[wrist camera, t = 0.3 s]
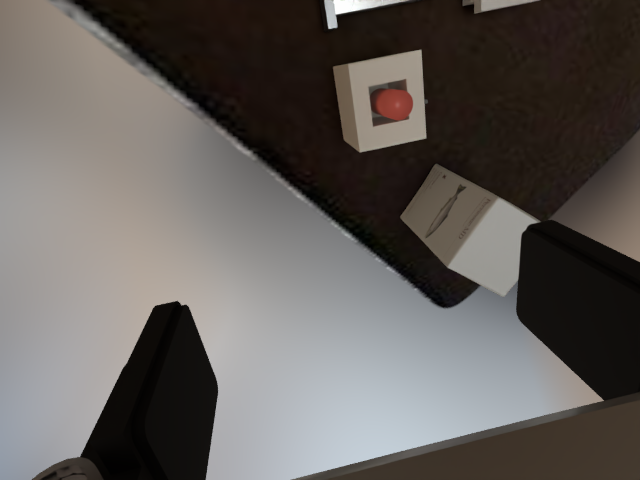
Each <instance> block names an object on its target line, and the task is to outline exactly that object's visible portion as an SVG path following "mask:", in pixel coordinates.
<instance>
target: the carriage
mask: <svg viewBox="0 0 640 480" xmlns="http://www.w3.org/2000/svg"><path fill="white" fill-rule="evenodd" d="M536 1H540V0H463V6H466V5H471V4H474V14H475V13H480V12H485V11H490V10H495V9H500V8H505V7H511V6H516V5H521V4H526V3H531V2H536Z"/></svg>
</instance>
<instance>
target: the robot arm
mask: <svg viewBox="0 0 640 480" xmlns="http://www.w3.org/2000/svg"><path fill="white" fill-rule="evenodd" d="M516 310H517V311H516V312H517V316H518V318H519V320H520V321H521V322H522V323H523V324H524V325H525V326H526V327H527V328H528V329H529V330H530V331H531V332H532V333H533V334H534V335H535V336H536V337H537V338H538V339H540V341H542V342H543V343H544V344H545V345H546V346H547V347H548V348H549V349H550V350H551V351H552V352H553V353H554V354H555V355H556V356H558V357H559V358H560V359H561V360H562V361H563V362H564V363H565V364H566V365H567V366H568V367H569V368H570V369H571V370H572V371H574V373H576V374H577V375H578V376H579V377H580V378H581V379H582V380H583V381H584V382H585V383H586V384H587V385H588V386H589V387H590V388H592V390H594V391H595V392H596V393H597V394H598V395H599V396H600V397H601V398H602V399H603V400H604V401H602V402H597V403H593V404H589V405H585V406H581V407H577V408H573V409H569V410H565V411H561V412H557V413H552V414H549V415H544V416H541V417H537V418H533V419H529V420H525V421H520V422H516V423H512V424H509V425H505V426H501V427H496V428H492V429H488V430H484V431H481V432H476V433H472V434H468V435H465V436H460V437H457V438H453V439H449V440H445V441H441V442H437V443H433V444H429V445H425V446H421V447H417V448H413V449H409V450H405V451H401V452H397V453H393V454H390V455H385V456H382V457H378V458H374V459H370V460H367V461H363V462H358V463H355V464H350V465H347V466H343V467H339V468H335V469H331V470H327V471H323V472H319V473H316V474H312V475H308V476H304V477H300V478H296V479H292V480H640V262H638V261H636V260H634V259H632V258H630V257H628V256H626V255H624V254H622V253H620V252H617V251H616V250H613V249H611V248H609V247H607V246H605V245H603V244H601V243H599V242H597V241H595V240H593V239H591V238H589V237H587V236H585V235H582V234H581V233H578V232H576V231H574V230H572V229H570V228H568V227H566V226H564V225H562V224H560V223H558V222H556V221H553V220H547V221H543V222H538V223H534V224H530V225H528V226H527V228H526V230H525V231H524V232H523V233H522V235H521V247H520V261H519V276H518V291H517V306H516ZM217 396H218V385H217V381H216V377H215V375H214V372H213V369H212V367H211V364H210V362H209V359H208V356H207V354H206V351H205V348H204V346H203V343H202V341H201V338H200V335H199V333H198V330H197V327H196V325H195V322H194V320H193V317H192V314H191V312H190V310H189V307H188V306H187V305H182V306H181V304H180V303H179V302H178V301H175V302H171V303H166V304H161V305H157V306H155V307H154V308H153V310H152V312H151V314H150V316H149V318H148V320H147V323H146V325H145V327H144V329H143V331H142V333H141V335H140V337H139V339H138V341H137V343H136V345H135V348H134V350H133V352H132V354H131V356H130V358H129V360H128V362H127V364H126V365H125V367H124V368H123V369H122V372H121V374H120V376H119V378H118V380H117V382H116V384H115V386H114V388H113V390H112V392H111V394H110V396H109V398H108V400H107V403H106V405H105V407H104V409H103V411H102V413H101V415H100V417H99V419H98V421H97V423H96V425H95V428H94V430H93V431H92V434H91V435H90V438H89V440H88V442H87V444H86V446H85V448H84V450H83V452H82V454H81V456H80V457H77V458H71V459H66V460H64V461H61V462H59V463H57V464H54V465H52V466H51V467H49V468H47V469H46V470H44V471H43V472H41V473H39V474H38V475H37V476H36V477H35V478H33V479H32V480H206V473H207V466H208V459H209V452H210V445H211V437H212V431H213V424H214V417H215V410H216V402H217Z"/></svg>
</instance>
